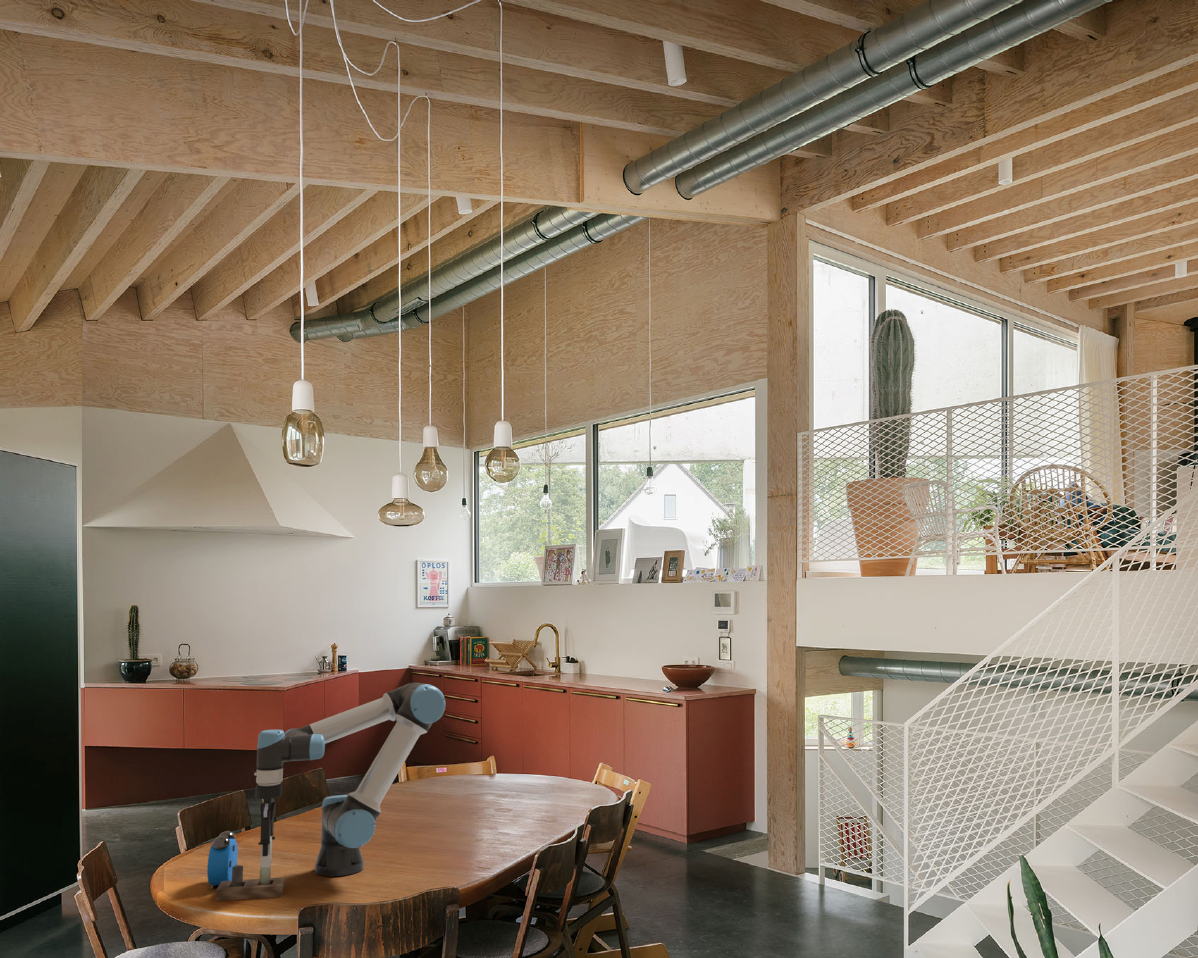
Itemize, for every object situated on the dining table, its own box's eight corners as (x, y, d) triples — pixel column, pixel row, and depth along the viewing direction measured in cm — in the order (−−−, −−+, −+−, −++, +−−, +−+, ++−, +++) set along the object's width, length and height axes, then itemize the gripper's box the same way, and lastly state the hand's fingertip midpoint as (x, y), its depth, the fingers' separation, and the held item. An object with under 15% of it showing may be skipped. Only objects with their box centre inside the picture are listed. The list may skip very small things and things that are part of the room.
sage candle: (260, 881, 283) (261, 836, 284) (270, 880, 283) (272, 835, 285) (258, 884, 280) (260, 838, 281) (269, 883, 280) (271, 837, 282)
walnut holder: (284, 887, 287) (285, 859, 288) (281, 896, 278) (282, 867, 279) (221, 891, 283) (222, 863, 284) (215, 900, 274) (216, 871, 275)
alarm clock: (217, 878, 296) (219, 828, 298) (237, 877, 297) (239, 827, 299) (205, 891, 283) (208, 839, 285) (227, 890, 284) (229, 838, 286)
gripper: (259, 778, 292) (256, 858, 289) (252, 788, 277) (248, 873, 274) (285, 777, 294) (282, 857, 291) (279, 787, 278) (275, 871, 275)
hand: (265, 864), depth 282 cm, fingers closed on sage candle, 3 cm apart
